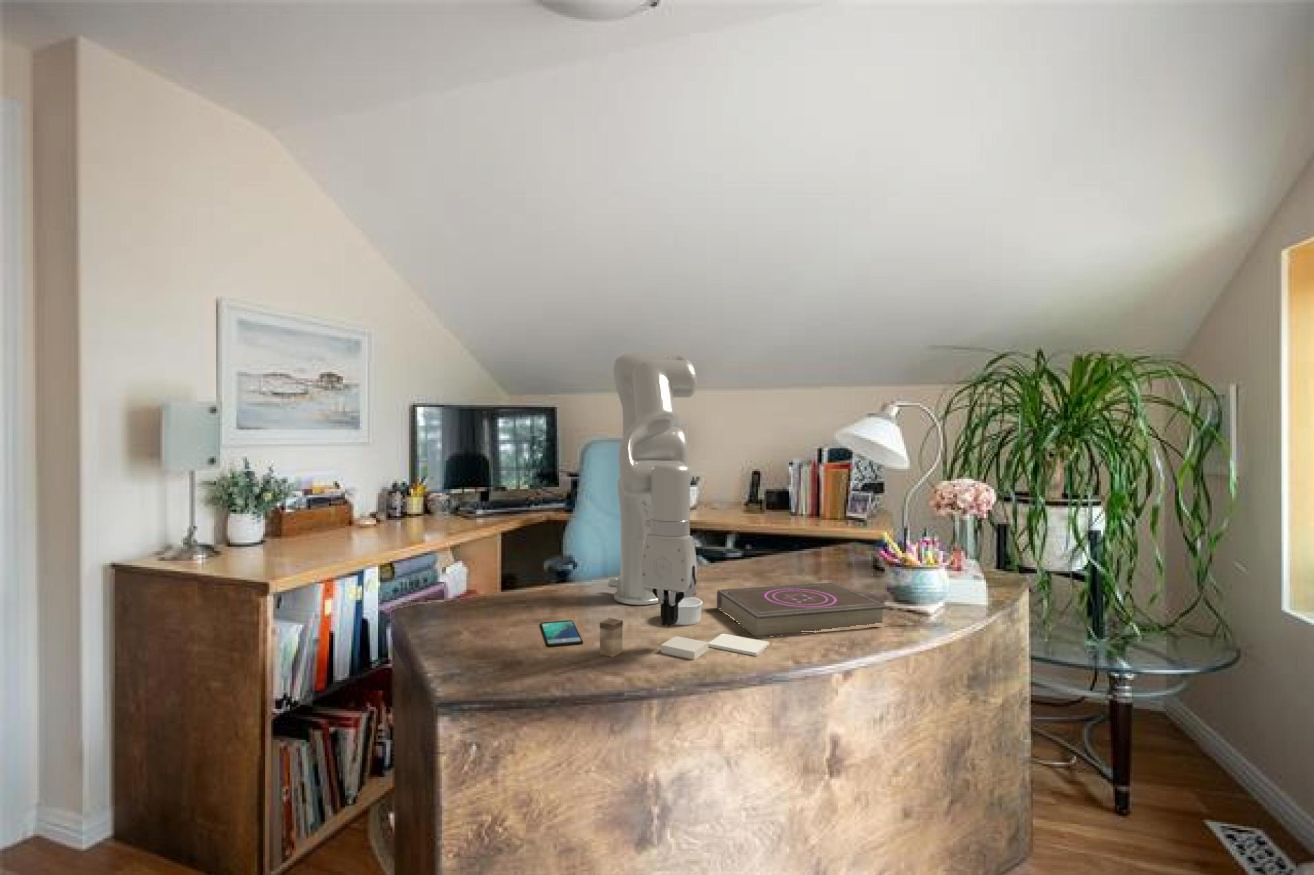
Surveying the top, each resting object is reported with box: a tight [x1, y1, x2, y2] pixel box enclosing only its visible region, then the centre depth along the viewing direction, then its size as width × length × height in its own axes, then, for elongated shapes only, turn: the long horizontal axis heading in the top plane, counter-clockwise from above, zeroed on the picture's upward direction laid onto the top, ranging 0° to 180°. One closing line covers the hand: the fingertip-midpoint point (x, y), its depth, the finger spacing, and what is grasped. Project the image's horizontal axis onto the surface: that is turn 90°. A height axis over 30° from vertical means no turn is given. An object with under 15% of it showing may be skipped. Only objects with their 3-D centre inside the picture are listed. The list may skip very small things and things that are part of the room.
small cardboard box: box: [599, 617, 624, 658], centre depth 118 cm, size 3×3×6 cm
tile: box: [660, 635, 710, 661], centre depth 120 cm, size 2×6×7 cm
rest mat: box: [708, 633, 770, 657], centre depth 123 cm, size 10×7×1 cm
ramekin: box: [673, 596, 704, 626], centre depth 139 cm, size 9×9×4 cm
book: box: [716, 582, 889, 639], centre depth 142 cm, size 30×22×5 cm
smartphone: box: [539, 619, 584, 648], centre depth 129 cm, size 7×1×15 cm
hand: (669, 623), depth 121 cm, fingers closed
